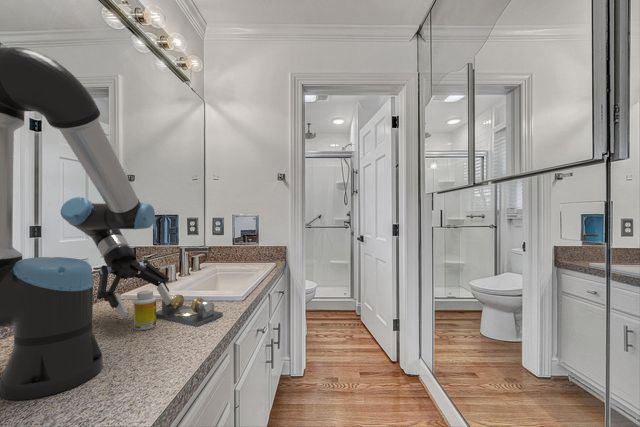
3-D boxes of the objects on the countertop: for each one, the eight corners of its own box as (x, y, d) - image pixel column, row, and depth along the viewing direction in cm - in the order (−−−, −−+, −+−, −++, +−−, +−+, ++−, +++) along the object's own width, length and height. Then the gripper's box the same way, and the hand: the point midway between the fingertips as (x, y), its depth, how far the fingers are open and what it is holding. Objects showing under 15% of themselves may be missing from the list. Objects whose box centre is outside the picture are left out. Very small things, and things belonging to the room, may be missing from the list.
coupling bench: (197, 326, 87) (197, 304, 87) (152, 316, 96) (152, 296, 96) (222, 316, 96) (222, 296, 96) (179, 308, 105) (179, 289, 105)
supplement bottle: (158, 328, 86) (158, 292, 86) (135, 332, 83) (135, 295, 83) (154, 322, 90) (154, 288, 90) (132, 327, 87) (132, 291, 87)
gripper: (149, 256, 106) (179, 304, 99) (64, 267, 83) (95, 331, 76) (159, 241, 103) (190, 290, 97) (74, 249, 81) (107, 313, 74)
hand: (148, 308), depth 86 cm, fingers open, 13 cm apart
